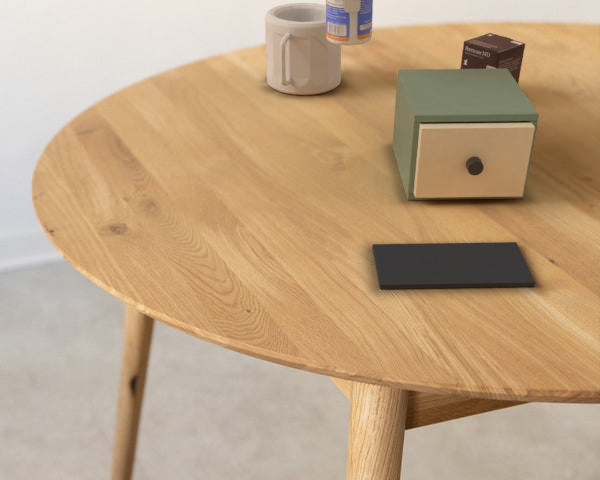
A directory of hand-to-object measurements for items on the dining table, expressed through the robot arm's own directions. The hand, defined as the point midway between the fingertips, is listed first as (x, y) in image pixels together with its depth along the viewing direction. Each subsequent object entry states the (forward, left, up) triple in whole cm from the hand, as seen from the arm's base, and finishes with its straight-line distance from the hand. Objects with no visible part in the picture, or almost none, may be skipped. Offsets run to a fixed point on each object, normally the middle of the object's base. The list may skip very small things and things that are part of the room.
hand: (349, 2), depth 90 cm
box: (-21, -12, -16) cm, 29 cm away
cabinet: (-12, +12, -16) cm, 23 cm away
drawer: (-12, +14, -15) cm, 24 cm away
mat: (-8, +32, -16) cm, 36 cm away
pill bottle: (0, 0, -4) cm, 4 cm away
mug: (+5, -16, -16) cm, 23 cm away
